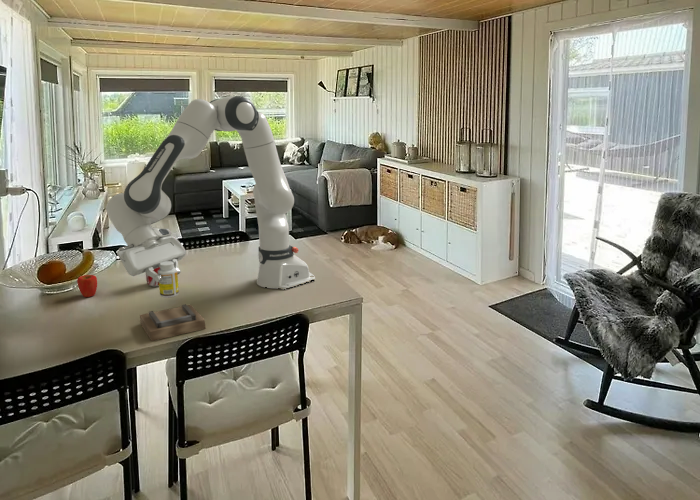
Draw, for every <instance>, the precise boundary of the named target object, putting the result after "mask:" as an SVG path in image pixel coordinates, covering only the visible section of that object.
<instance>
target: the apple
mask: <svg viewBox="0 0 700 500" xmlns="http://www.w3.org/2000/svg"><path fill="white" fill-rule="evenodd" d="M76 284H77V287H78V289H79V292H80V294H81V295H82V297H84V298H90V297H94V296H96V293H97V288H98V278H97V276H96V275H94V274H84V275H81V276H78V278H77V279H76Z"/></svg>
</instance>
